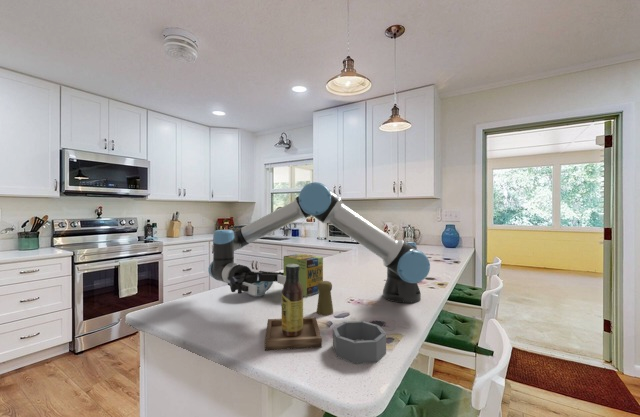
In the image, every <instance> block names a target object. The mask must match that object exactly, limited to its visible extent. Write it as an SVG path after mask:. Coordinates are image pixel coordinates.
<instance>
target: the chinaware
mask: <svg viewBox="0 0 640 417" xmlns="http://www.w3.org/2000/svg"><path fill="white" fill-rule="evenodd" d="M257 281H259V277H257ZM273 283H274V282H266V281H261V282H260V283H252V284H253V285H256V286H257V295H256V296H254V295H252V294H249V293H248V295H249V296H251V297H261V296H265V294H266V292H267V291H268V290H270V289H271V287H272V285H273ZM249 284H251V283H249Z"/></svg>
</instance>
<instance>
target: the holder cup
mask: <svg viewBox="0 0 640 417" xmlns="http://www.w3.org/2000/svg"><path fill="white" fill-rule="evenodd" d="M332 348H333V351H334V354H335V357H336V358H338V359H341V360H344V361H347V362H349V363H352V364H355V365H356V364H358V365H359V364H371V363H378V362H379V361H380V360H381V359H382V358H383V357H384V356H385V355H386V354H387V333H386V332H385V331H384V329H383V328H382V327H381V325H380V324H379V325H378V324H376V323H371V322H368V321H366V320H365V321H364V320H352V321H347V320H346V321H342V322H340V323H339V324H337V325H335V326H334V327H332Z"/></svg>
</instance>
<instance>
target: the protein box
mask: <svg viewBox="0 0 640 417" xmlns="http://www.w3.org/2000/svg"><path fill="white" fill-rule="evenodd" d="M288 264H298V265H299V266H300V270H299V282H300V284H301V285H302V287H303V297H304V298H307V297H310V296H314V295H317V294H318V295H319V290H318V283H319V282H321V281H324V257H323V256H317V255H313V254H312V255H311V254H304V253H295V254H289V255H283V270H282V271H283V273H284V276H286V270H285V268H286V265H288ZM282 285H283V287H284V284H282Z"/></svg>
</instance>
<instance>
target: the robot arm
mask: <svg viewBox="0 0 640 417" xmlns="http://www.w3.org/2000/svg"><path fill="white" fill-rule="evenodd" d="M311 216H312V217H313V218H315V219H317V220H318V221H320V222H321V223H322V224H331V225H332V226H334V227H335V228H337V229H338V230H340V231H341V232H343V233H344V234H345V235H346V236H348V237H349V238H351V239H353V241H355V242H357V243H358V244H360V245H361V246H363V247H364V248H365V249H366V250H368V251H370V252H371V253H373V254H375V255H376V256H377V257H378V258H380V259H382V263H383V266H384V267H385V268H386V271H387V272H386V280H385V283H384V286H383V289H382V296H383V298H384V299H385V300H387V301H391V302H396V303H406V304H408V303H410V304H411V303H416V302H419V301H421V297H422V296H421V291H420V288H419V285H418V283H421V282H422V281H424V280H425V279H426V278H427V277H428V275H429V274H430V271H431V263H430V260H429V257H427V255H426V254H425V253H424V252H422V251H421V250H418V247H417V243H416V242H414V241H406V240H404V239H395V238H393V237H392V236H390V235H389V234H387V233H386V232H384V231H383V230H382V229H380V228H379V227H377V226H376V225H374V224H373V223H371V222H370V221H368V220H367V219H365V218H364V217H363V216H361V215H360V214H358V213H357V212H355V211H354V210H353V209H351V208H350V207H348V206H347V205H345V204H344V203H343V200H342V197H341V196H339V195H338V194H336V193H335V192H334V191H332V190H330V189H329V188H328V187H327V186H326V185H325V184H323V183H321V182H316V181H313V182H309V183H308V184H305V185H304V187H302V189H301V190H300V192H299V195H298V196H296V197H295V198H294V200H293V201H291V202H290V203H288V204H285V205H284V206H282V207H280V208H278V209H276V210H274V211H272V212H270V213H269V214H266V215H264V216H262V217H260V218H259V219H256V220H254V221H253V222H251V223H248V224H247V225H245V226H243V227H241V228H238V229H236V230H232V229H217V230H216V229H215V230H214V231H213V236H212V247H213V248H212V250H213V251H212V253H213V258H212V262H211V263H210V264H209V266H208V271H207V272H208V274H209V276H211V278H213V279H214V280H216V281H219V282H223V283H226V284H227V285H228V286H229V287H230V292H231V293H235V292H236V291H237V294H240V295H241V294H243V293H246V294H248V295H249V294H252V295H254V296H253V297H257V296H256V295H257V286H256V285H253V284H252V283H260V282H261V281H266V282H273V283H274V282H275V283H277V284H281V285H283V284H285V281H286V276H284V272H281V271H278V272H277V271H265V270H259V271H252V270H251V269H250V267H249V266H247V265H244V264H239V263H235V262H234V261H235V251H237V250H240V249H243V248H244V247H245V246H248V245H249V244H252V243H253V242H255V241H257V240H260V239H261V238H264V237H265V236H267V235H270V234H271V233H273V232H276V231H278V230H280V229H281V228H283V227H287V225H290V224H292V223H294V222H296V221H298V220H300V219H301V218H303V219H307V218H308V217H311ZM257 277H259V281H257ZM249 283H251V284H249Z"/></svg>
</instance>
